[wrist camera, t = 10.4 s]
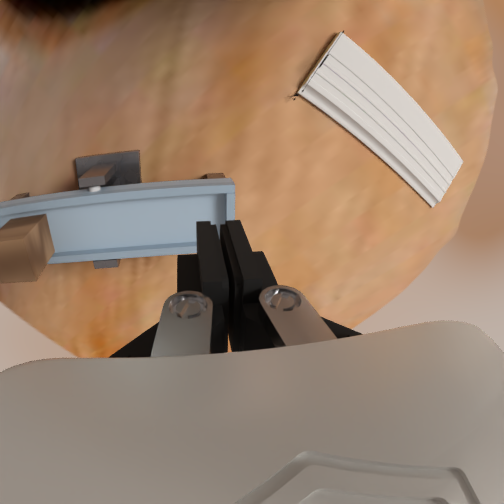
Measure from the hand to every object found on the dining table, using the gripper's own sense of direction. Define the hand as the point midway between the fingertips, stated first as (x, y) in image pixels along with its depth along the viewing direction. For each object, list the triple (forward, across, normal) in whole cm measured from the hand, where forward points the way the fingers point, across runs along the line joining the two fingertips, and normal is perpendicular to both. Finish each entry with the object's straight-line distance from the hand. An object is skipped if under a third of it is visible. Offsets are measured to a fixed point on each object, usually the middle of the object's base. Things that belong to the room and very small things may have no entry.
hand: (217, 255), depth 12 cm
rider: (+18, +19, +7) cm, 27 cm away
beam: (+19, +10, +7) cm, 23 cm away
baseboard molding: (+28, -28, -3) cm, 39 cm away
